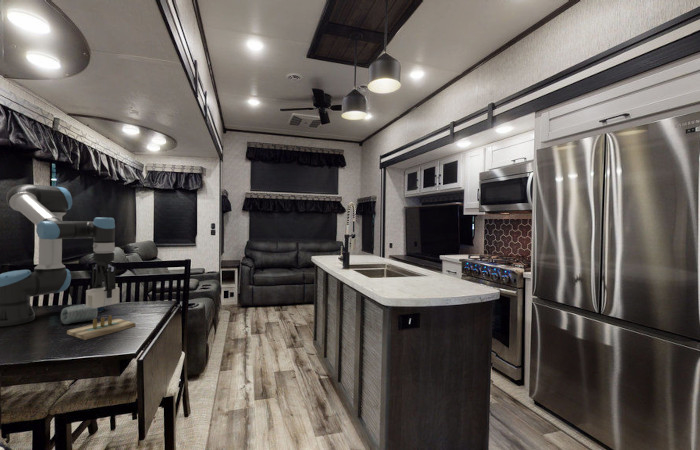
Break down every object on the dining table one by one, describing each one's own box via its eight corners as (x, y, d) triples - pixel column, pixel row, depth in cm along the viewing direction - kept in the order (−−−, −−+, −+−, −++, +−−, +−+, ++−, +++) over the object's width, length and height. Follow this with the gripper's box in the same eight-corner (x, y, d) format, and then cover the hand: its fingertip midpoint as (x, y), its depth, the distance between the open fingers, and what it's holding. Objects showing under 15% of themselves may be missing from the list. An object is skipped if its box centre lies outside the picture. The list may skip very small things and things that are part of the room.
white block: (86, 306, 142) (86, 290, 142) (111, 301, 151) (111, 286, 151) (94, 308, 140) (94, 291, 140) (119, 303, 149) (119, 287, 149)
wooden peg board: (66, 333, 140) (67, 321, 140) (117, 321, 158) (117, 310, 158) (85, 339, 134) (85, 326, 134) (135, 326, 152) (135, 314, 152)
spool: (57, 321, 146) (65, 299, 151) (56, 325, 152) (64, 304, 157) (94, 323, 154) (101, 302, 159) (92, 328, 160) (99, 307, 165)
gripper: (82, 251, 146) (81, 303, 146) (107, 254, 138) (106, 309, 138) (100, 250, 153) (100, 299, 153) (126, 252, 145) (125, 305, 145)
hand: (103, 304), depth 146 cm, fingers closed on white block, 6 cm apart
